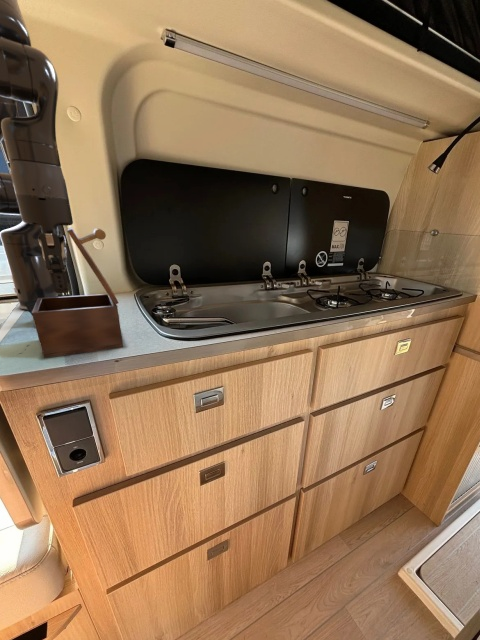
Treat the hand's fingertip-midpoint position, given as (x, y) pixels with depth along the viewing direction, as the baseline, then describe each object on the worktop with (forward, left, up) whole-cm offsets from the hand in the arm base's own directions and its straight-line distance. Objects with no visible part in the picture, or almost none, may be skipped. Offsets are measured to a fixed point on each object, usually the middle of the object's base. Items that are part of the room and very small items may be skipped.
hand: (62, 287), depth 57 cm
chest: (+1, +2, -12) cm, 12 cm away
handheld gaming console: (-16, -2, -12) cm, 20 cm away
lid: (+1, +6, +4) cm, 7 cm away
